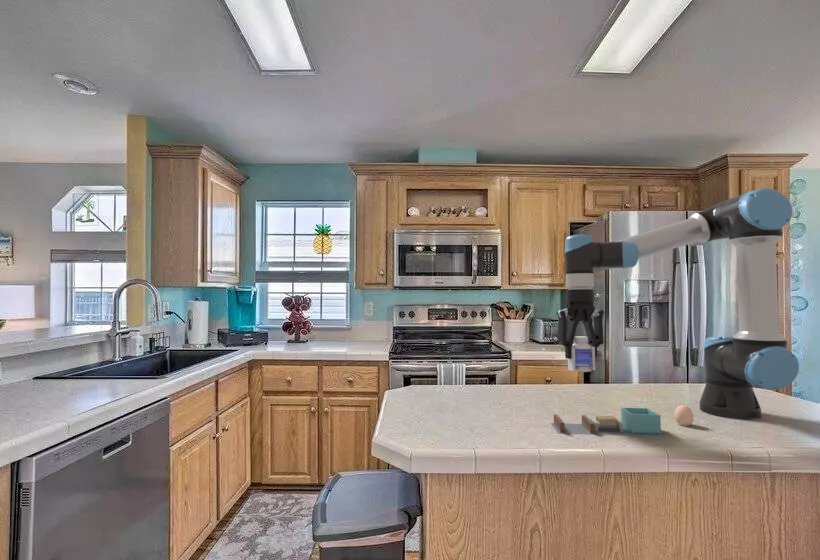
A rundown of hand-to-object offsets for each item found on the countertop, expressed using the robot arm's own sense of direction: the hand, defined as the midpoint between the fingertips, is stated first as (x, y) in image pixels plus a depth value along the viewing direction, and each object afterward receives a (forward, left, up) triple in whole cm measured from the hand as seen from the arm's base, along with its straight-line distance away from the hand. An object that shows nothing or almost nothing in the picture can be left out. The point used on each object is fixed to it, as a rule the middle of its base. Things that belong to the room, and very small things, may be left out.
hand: (581, 369), depth 123 cm
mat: (-3, +9, -15) cm, 17 cm away
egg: (-26, +2, -15) cm, 30 cm away
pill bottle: (0, 0, -1) cm, 1 cm away
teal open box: (-12, +9, -14) cm, 21 cm away
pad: (-4, +9, -12) cm, 15 cm away
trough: (+5, +9, -14) cm, 17 cm away
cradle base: (-4, +9, -14) cm, 17 cm away
